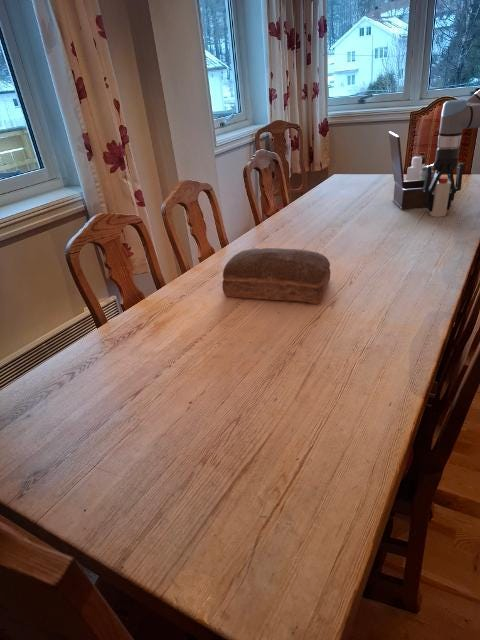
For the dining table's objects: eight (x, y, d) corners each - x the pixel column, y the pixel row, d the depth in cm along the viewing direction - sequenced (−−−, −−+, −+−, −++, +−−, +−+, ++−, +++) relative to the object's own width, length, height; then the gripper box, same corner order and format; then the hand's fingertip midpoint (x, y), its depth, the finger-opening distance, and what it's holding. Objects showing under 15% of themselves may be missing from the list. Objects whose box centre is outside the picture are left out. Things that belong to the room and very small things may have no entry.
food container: (415, 188, 204) (418, 166, 199) (429, 188, 202) (432, 166, 197) (419, 195, 193) (422, 172, 188) (434, 195, 192) (437, 172, 187)
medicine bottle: (412, 179, 219) (415, 154, 213) (426, 180, 214) (429, 155, 208) (405, 182, 215) (408, 157, 209) (419, 183, 210) (422, 158, 204)
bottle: (442, 211, 172) (448, 175, 165) (448, 216, 167) (454, 179, 160) (427, 212, 173) (432, 176, 166) (432, 217, 168) (437, 180, 161)
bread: (322, 306, 114) (322, 267, 108) (220, 297, 124) (215, 261, 118) (332, 279, 128) (333, 243, 122) (239, 273, 137) (236, 239, 132)
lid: (390, 131, 176) (388, 132, 176) (399, 136, 164) (397, 136, 164) (396, 180, 186) (394, 181, 186) (404, 188, 174) (402, 188, 174)
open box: (438, 197, 188) (441, 178, 184) (450, 206, 177) (453, 186, 172) (393, 200, 190) (394, 181, 186) (401, 209, 178) (403, 189, 174)
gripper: (470, 143, 160) (459, 205, 171) (418, 147, 161) (410, 208, 173) (479, 147, 153) (467, 210, 165) (424, 151, 155) (416, 214, 167)
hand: (438, 209), depth 169 cm, fingers closed on bottle, 6 cm apart
